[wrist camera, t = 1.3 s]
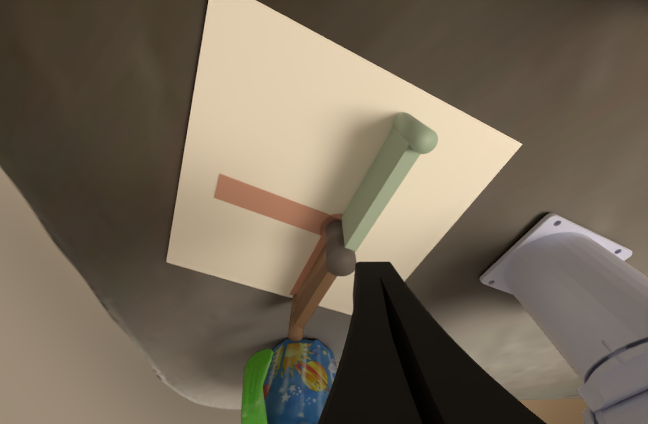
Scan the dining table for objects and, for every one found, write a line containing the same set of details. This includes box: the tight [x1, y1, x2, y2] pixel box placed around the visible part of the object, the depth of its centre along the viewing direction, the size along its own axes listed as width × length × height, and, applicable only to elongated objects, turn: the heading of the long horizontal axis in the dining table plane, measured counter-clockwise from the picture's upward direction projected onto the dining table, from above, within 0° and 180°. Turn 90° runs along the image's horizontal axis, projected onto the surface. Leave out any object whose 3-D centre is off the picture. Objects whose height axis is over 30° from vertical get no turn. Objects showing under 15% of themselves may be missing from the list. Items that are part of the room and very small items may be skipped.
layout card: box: [166, 0, 522, 315], centre depth 19 cm, size 20×20×1 cm
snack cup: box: [241, 339, 337, 424], centre depth 26 cm, size 16×10×10 cm
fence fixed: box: [288, 220, 357, 341], centre depth 20 cm, size 2×10×4 cm, turn 156°
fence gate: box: [341, 112, 438, 251], centre depth 16 cm, size 1×8×4 cm, turn 156°
